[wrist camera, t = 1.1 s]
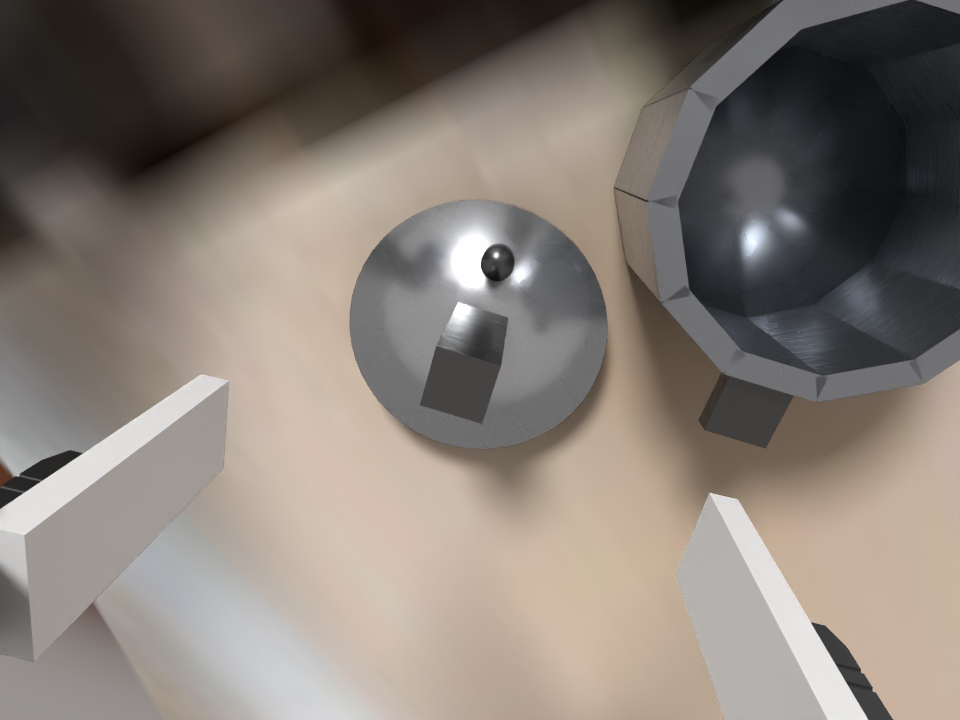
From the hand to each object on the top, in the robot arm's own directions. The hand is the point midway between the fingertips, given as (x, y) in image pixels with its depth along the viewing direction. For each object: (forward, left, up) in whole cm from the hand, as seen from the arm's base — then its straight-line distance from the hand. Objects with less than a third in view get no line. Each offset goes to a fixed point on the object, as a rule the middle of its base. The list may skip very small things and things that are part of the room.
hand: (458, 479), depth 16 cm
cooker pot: (+12, +10, -21) cm, 26 cm away
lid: (-1, -2, -21) cm, 21 cm away
